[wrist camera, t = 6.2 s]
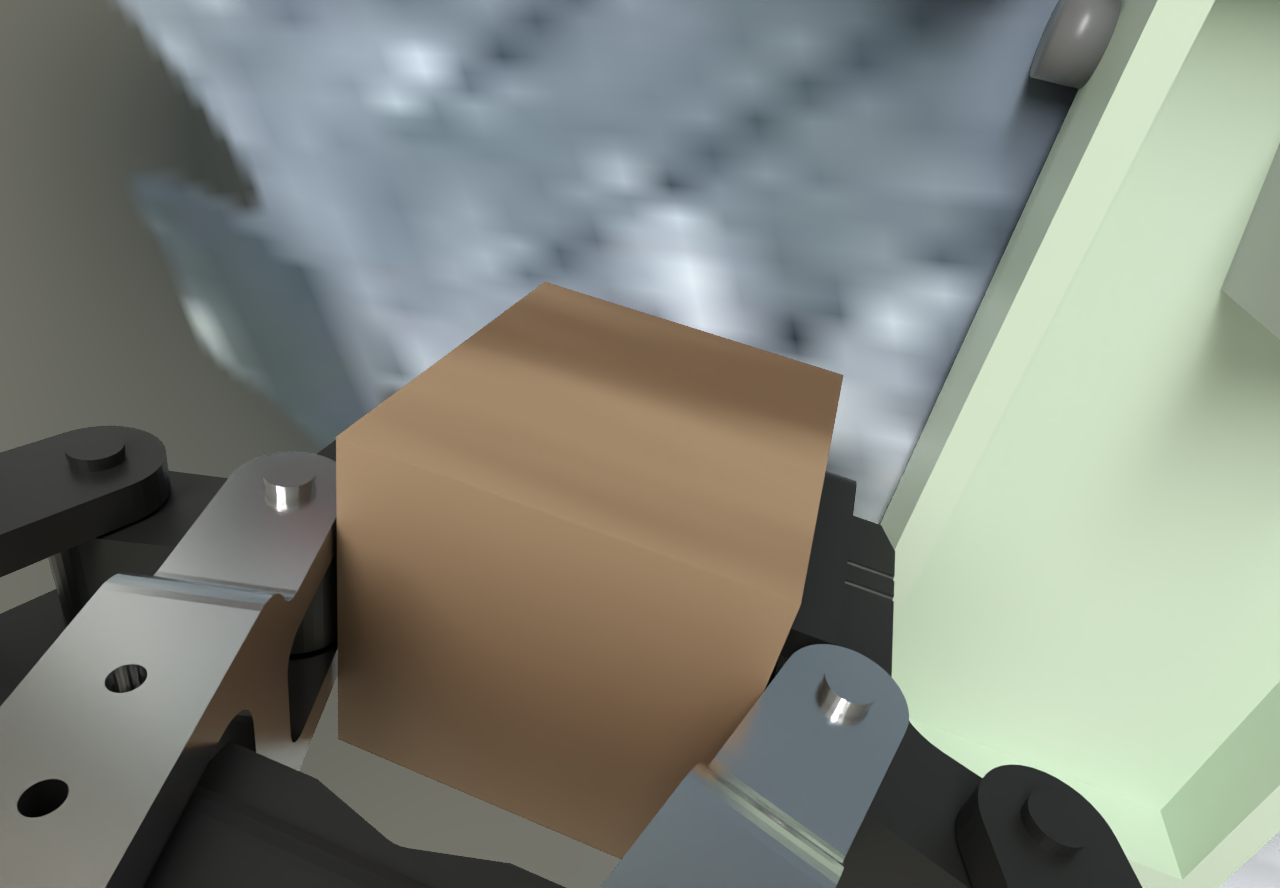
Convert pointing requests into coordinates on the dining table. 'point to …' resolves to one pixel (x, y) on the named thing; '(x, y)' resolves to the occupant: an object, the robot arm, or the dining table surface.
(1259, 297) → the grey part
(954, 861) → the robot arm
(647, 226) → the dining table surface
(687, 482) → the walnut part
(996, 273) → the cart
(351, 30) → the dining table surface
